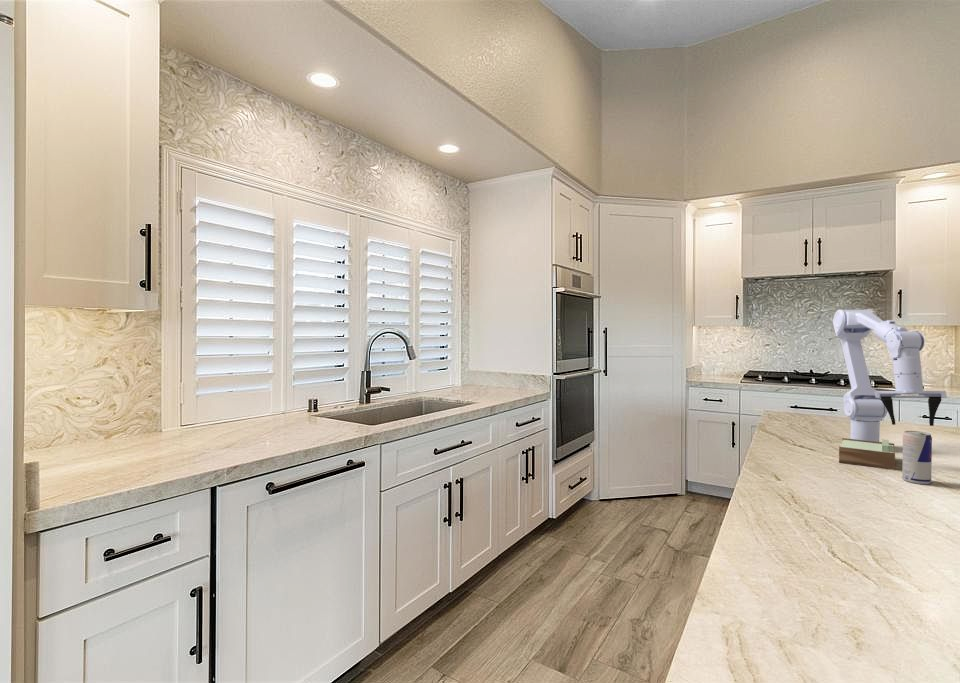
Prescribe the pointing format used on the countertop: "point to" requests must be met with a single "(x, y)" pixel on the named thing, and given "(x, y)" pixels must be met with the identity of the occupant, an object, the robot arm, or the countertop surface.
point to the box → (867, 456)
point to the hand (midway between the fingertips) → (912, 425)
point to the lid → (869, 445)
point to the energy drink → (917, 457)
